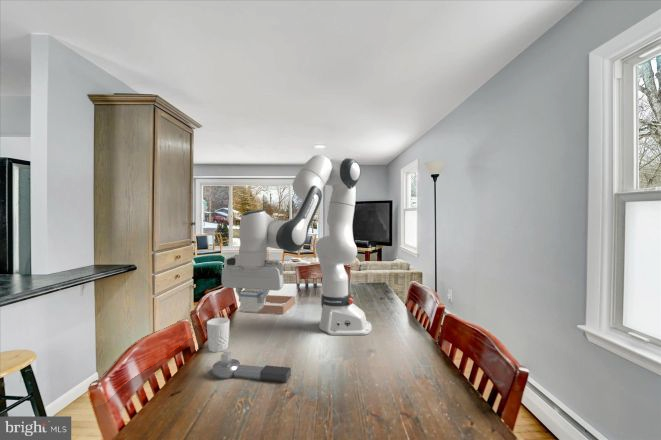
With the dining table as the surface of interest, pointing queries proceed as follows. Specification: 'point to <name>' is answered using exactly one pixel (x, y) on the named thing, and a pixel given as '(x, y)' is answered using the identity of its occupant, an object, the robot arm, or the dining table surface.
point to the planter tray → (277, 309)
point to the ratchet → (248, 370)
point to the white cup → (218, 334)
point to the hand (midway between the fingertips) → (252, 302)
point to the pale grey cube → (251, 300)
